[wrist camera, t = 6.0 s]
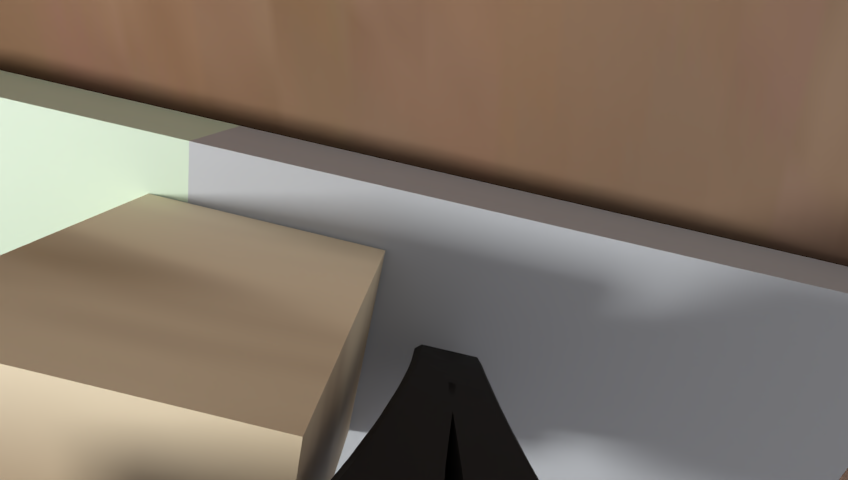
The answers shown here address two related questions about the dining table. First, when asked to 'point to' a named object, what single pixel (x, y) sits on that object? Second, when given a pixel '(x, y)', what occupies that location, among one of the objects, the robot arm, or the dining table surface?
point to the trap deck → (493, 289)
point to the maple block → (181, 347)
